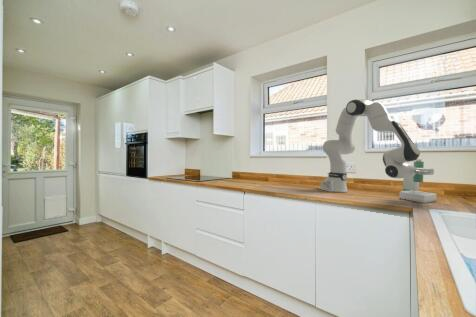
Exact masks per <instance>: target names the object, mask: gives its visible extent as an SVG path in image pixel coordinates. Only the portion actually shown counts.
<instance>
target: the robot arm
mask: <svg viewBox="0 0 476 317" xmlns="http://www.w3.org/2000/svg"><path fill="white" fill-rule="evenodd" d="M358 117H367V119H368V122H369V124H370V126H371V129H373V131H376V132H379V133H385V132H387V133H389V132H390V133H394V134H395V136H396V137H397V139H398V140H399V142H400V144H401V145H400V146H397V147H395V148H392V149H390V150H387V151H385V152H384V153H383V155H382V163H383V164H384V167H385V168H384V173H385V174H386V175H387V176H388V177H390V178H393V179H404V178H411V177H413V176H414V175H415V174H421V175H423V176H432V175H434V173H435V172H434V168H430V167H429V168H427V167H424V168H415V166H414V164H412V163H409V162H416V160H417V159H419V157H420V155H421V152H420V149H419V148H418V146H417V145H416V144H415V143H414V141H413V140H412V139H411V137H410V136H409V135H408V133H407V132H406V130H405V129H404V127H403V126H402V124H400V122H399V121H397V120H396V119H395V120H393V119H392V118H391V117H390V114H389V113H388V110H387V109H386V107H385V105H384V104H383V103H382V102H380V101H373V100H369V99H363V98H362V99H352V100H350V101H349V102H348V103H347V104H346V106H345V107H343V109H342V111H341V113H340V115H339V118H338V121H337V124H336V128H335V133H336V134H337V135H338V139H330V140H326V141H324V143H323V144H322V150H323V152H324V153H325V154H326V156H328V159H329V166H330V170H329V172H328V176H327V177H326V178H325V179H323V180H322V181H321V184H320V186H318V187H317V189H319V190H322V191H326V192H330V193H331V192H332V193H334V192H335V193H347V192H348V191H349V190H348V187H347V162H346V161H345V160H344V159H343V158H342V155H349V154H352V153H354V151H355V149H356V144H355V143H354V142H353V139H352V134H353V129H354V126H355V122H356V119H357V118H358Z"/></svg>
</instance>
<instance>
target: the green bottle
mask: <svg viewBox="0 0 476 317" xmlns="http://www.w3.org/2000/svg"><path fill="white" fill-rule="evenodd" d="M413 165H414V166H415V168H425V166H424V165H425V163H424V161H423V158H417V160H415V161H413ZM413 182H419V183H422V184H423V182H424V175H421V174H415V175H414V176H413Z"/></svg>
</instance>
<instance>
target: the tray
mask: <svg viewBox="0 0 476 317" xmlns="http://www.w3.org/2000/svg"><path fill="white" fill-rule="evenodd" d="M398 193H399V196H398V199H400V198H401V199H400V200H405V199H406V201H412V202H417V203H422V204H426V203H427V204H428V203H431V202H432V203H433V202H437V195H438V194H437V193H432V192H424V191H420V190H419V191H413V190H410V191H403V190H402V191H399V192H398Z"/></svg>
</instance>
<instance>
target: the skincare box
mask: <svg viewBox="0 0 476 317" xmlns="http://www.w3.org/2000/svg"><path fill="white" fill-rule="evenodd" d="M402 179H403V180H402V181H403V183H402V191H410V190H413V191H420V190H419V187H420V182H413V177H411V178H402Z"/></svg>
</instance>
